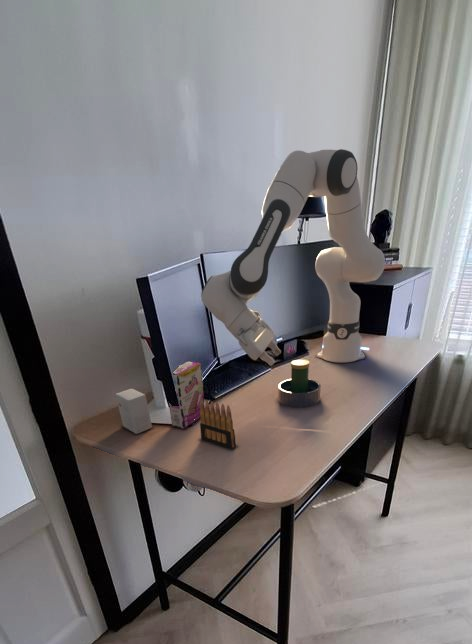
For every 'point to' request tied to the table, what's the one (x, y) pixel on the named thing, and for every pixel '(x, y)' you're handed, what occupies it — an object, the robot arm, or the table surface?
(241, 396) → the table surface
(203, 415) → the ammunition clip
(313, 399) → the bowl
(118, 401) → the small box
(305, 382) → the tea tin
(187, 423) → the candy bar box
